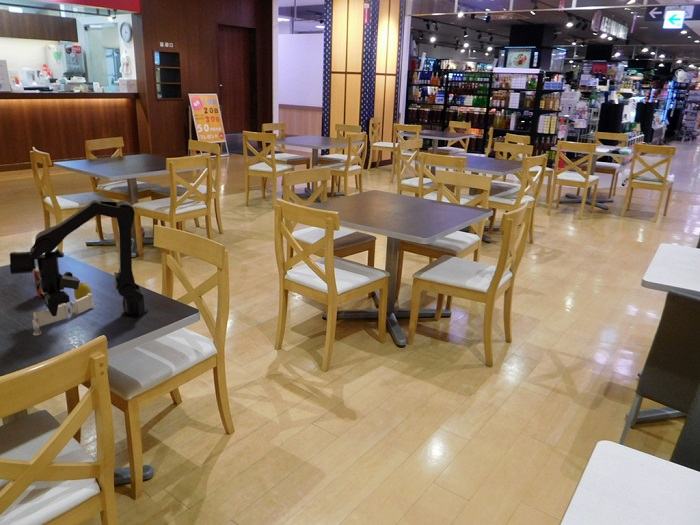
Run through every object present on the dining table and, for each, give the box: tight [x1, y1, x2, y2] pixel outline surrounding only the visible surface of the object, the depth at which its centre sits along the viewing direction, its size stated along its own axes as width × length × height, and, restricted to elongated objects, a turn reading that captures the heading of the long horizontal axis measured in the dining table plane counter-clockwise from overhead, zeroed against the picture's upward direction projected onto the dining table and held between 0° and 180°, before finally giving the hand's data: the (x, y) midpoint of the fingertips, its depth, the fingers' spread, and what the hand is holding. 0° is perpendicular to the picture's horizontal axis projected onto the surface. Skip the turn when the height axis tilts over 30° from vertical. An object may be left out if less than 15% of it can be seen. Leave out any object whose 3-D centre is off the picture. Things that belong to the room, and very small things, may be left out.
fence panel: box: [73, 293, 95, 315], centre depth 190 cm, size 2×7×5 cm, turn 162°
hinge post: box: [69, 301, 77, 318], centre depth 186 cm, size 2×2×5 cm
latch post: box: [32, 318, 43, 337], centre depth 172 cm, size 2×2×5 cm
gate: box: [32, 303, 70, 328], centre depth 180 cm, size 10×2×5 cm, turn 145°
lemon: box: [73, 282, 92, 301], centre depth 196 cm, size 6×6×8 cm
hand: (54, 315), depth 179 cm, fingers closed
